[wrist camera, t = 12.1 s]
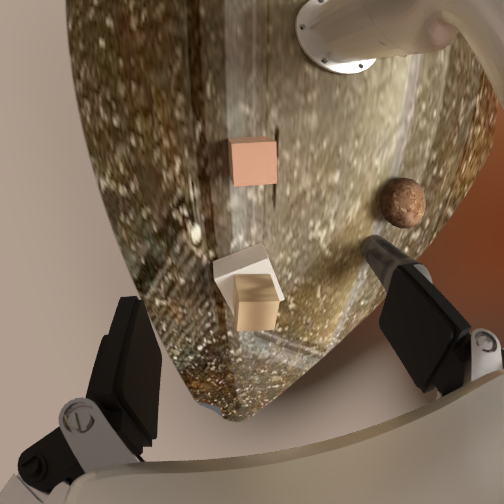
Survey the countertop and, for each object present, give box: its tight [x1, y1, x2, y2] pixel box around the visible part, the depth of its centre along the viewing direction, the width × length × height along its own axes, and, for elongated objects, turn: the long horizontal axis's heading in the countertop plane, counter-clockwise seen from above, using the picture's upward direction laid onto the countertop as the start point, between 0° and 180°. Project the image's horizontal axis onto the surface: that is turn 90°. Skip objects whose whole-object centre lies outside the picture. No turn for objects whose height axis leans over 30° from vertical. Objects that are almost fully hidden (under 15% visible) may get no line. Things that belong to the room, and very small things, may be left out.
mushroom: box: [380, 178, 426, 228], centre depth 41 cm, size 8×8×6 cm
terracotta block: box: [228, 136, 277, 187], centre depth 34 cm, size 5×5×6 cm
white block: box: [213, 242, 285, 314], centre depth 43 cm, size 8×8×5 cm
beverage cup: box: [361, 235, 432, 293], centre depth 38 cm, size 7×7×20 cm
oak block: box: [233, 274, 280, 331], centre depth 39 cm, size 5×5×6 cm
